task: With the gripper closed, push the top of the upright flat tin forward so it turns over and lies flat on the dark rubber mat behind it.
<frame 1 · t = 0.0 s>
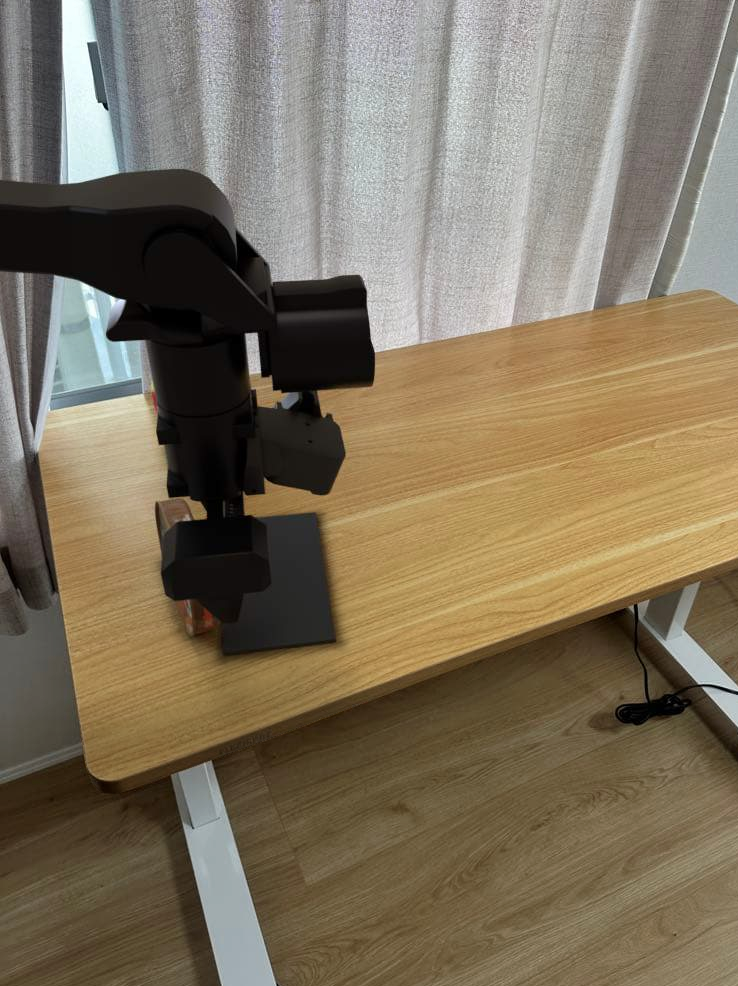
hand: (229, 574, 59), 15 cm above the table, tool pointing down, fingers open, 9 cm apart
bottle: (199, 460, 94), on the table
mat: (274, 578, 79), on the table
tin: (192, 596, 77), on the table
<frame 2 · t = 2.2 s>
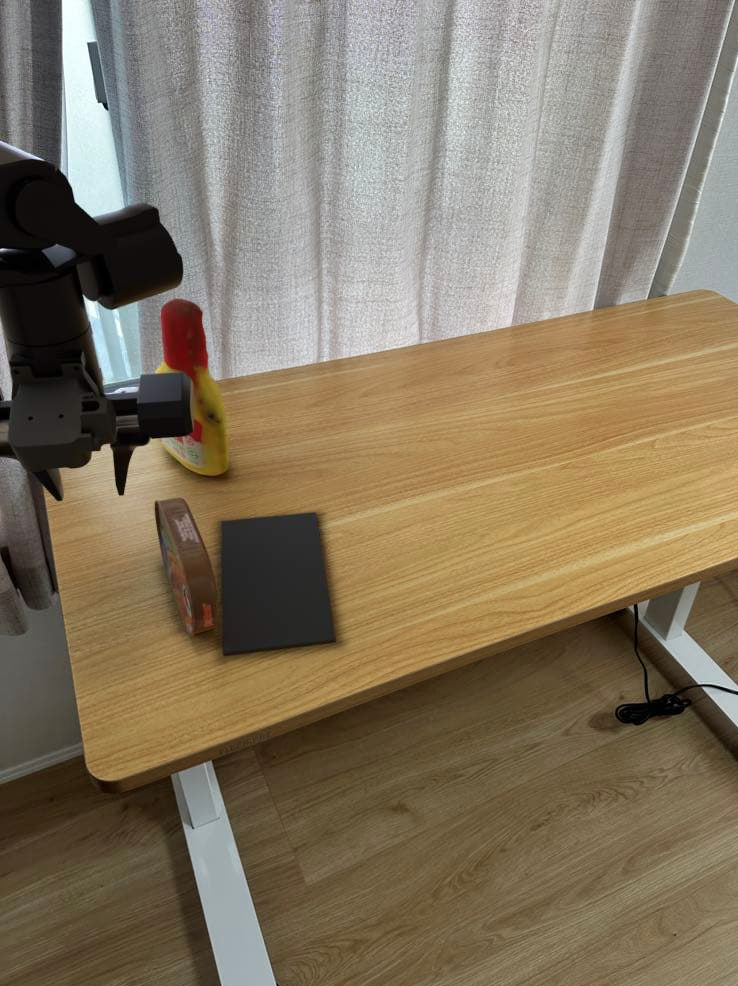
hand: (91, 495, 68), 13 cm above the table, tool pointing down, fingers open, 5 cm apart
nothing on the table moved.
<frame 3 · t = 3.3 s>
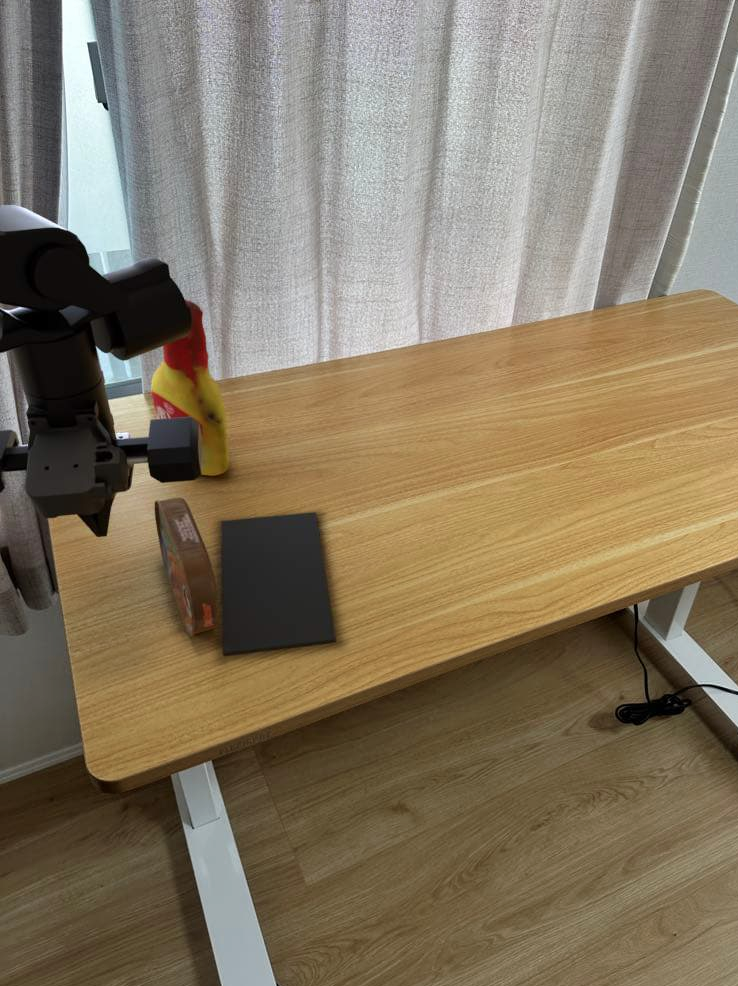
hand: (102, 533, 71), 9 cm above the table, tool pointing down, fingers closed
nothing on the table moved.
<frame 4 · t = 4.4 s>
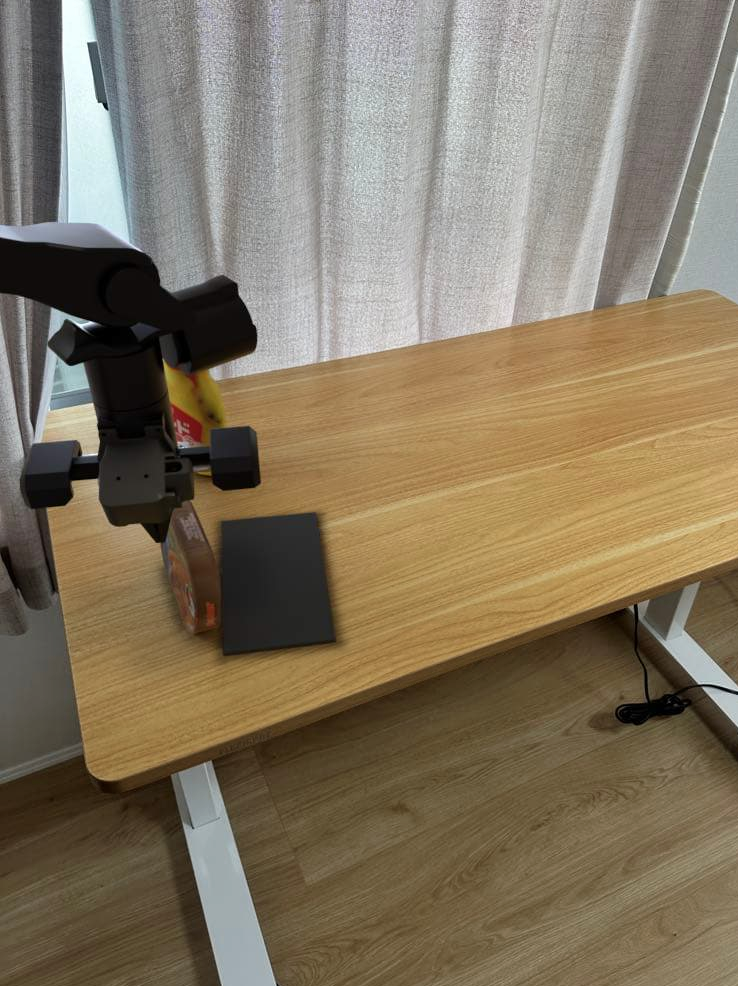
hand: (161, 540, 72), 7 cm above the table, tool pointing down, fingers closed
tin: (191, 595, 77), on the table, touching gripper
everything else where it was.
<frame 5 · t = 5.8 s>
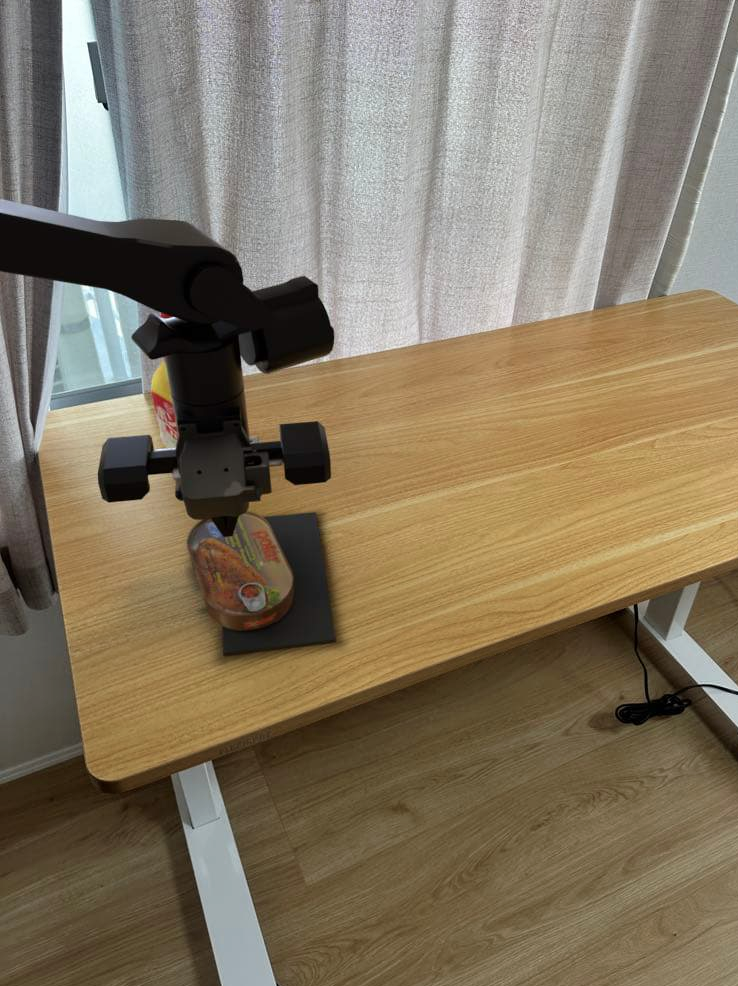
hand: (228, 533, 73), 7 cm above the table, tool pointing down, fingers closed
tin: (195, 582, 76), point 1 cm above the table, touching mat
everything else where it was.
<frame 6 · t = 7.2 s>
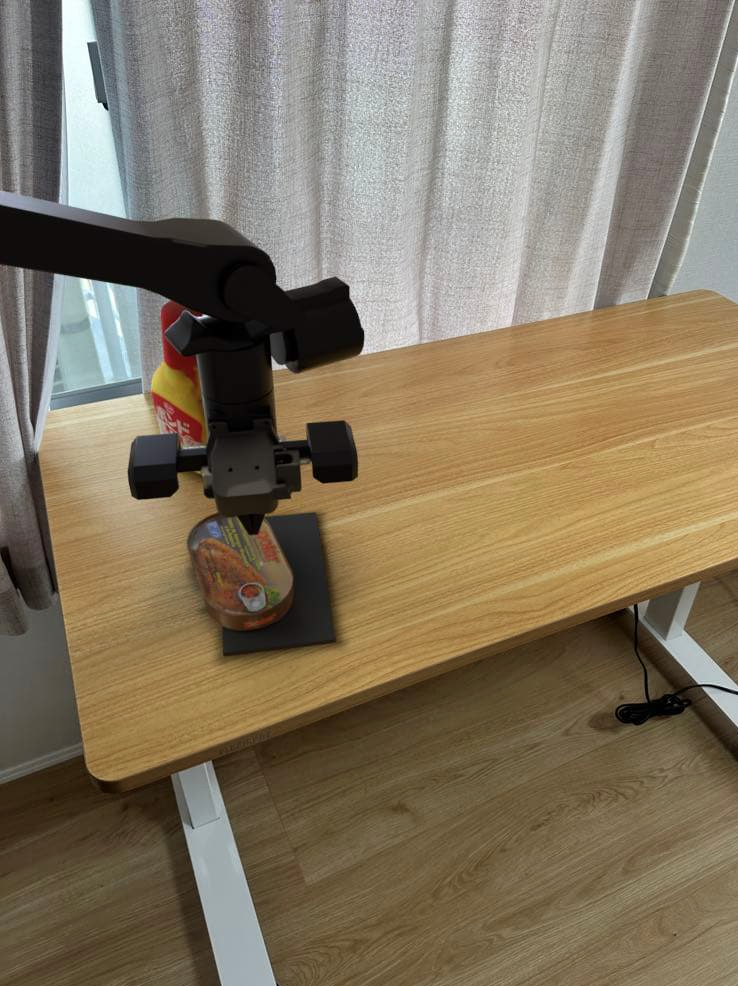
hand: (253, 532, 74), 7 cm above the table, tool pointing down, fingers closed
nothing on the table moved.
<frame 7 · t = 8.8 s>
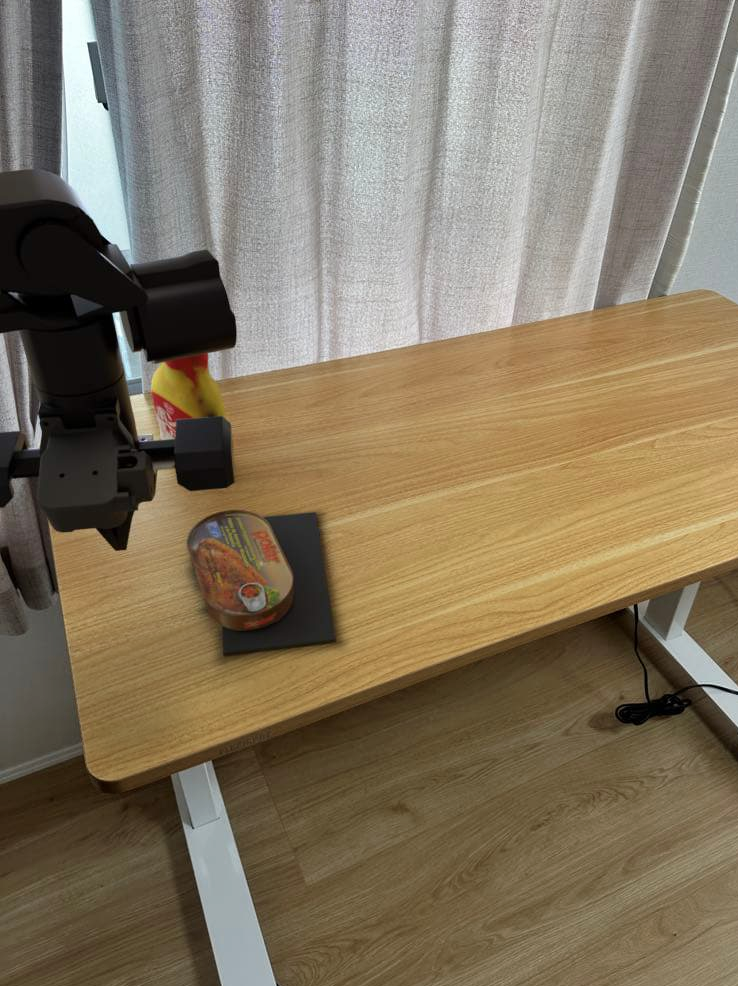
hand: (121, 547, 63), 13 cm above the table, tool pointing down, fingers closed
nothing on the table moved.
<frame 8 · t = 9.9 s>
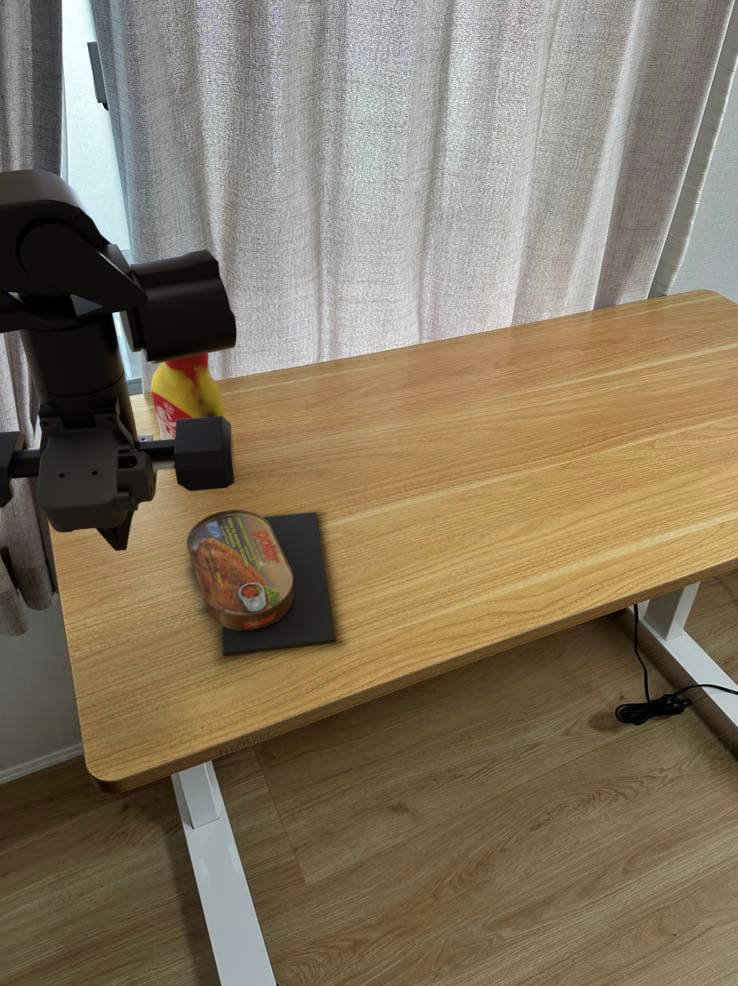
hand: (121, 547, 63), 13 cm above the table, tool pointing down, fingers closed
nothing on the table moved.
at the end: tin tilted 85°; tin inside the target area (3.4 cm from its centre), point 1.3 cm above the table; tin touching mat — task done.
